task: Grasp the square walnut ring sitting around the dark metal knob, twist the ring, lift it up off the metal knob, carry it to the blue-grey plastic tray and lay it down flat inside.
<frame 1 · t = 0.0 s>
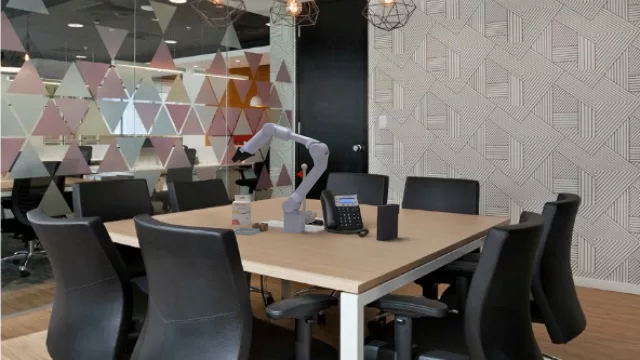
hand: (236, 160, 265), 32 cm above the table, tool tilted 50°, fingers open, 7 cm apart
ring: (260, 230, 260), point 1 cm above the table, touching metal knob
metal knob: (260, 231, 260), on the table
ink cartridge box: (241, 225, 278), on the table
tray: (245, 234, 252), on the table
upright black prism: (387, 239, 244), on the table
flag stand: (303, 222, 288), on the table
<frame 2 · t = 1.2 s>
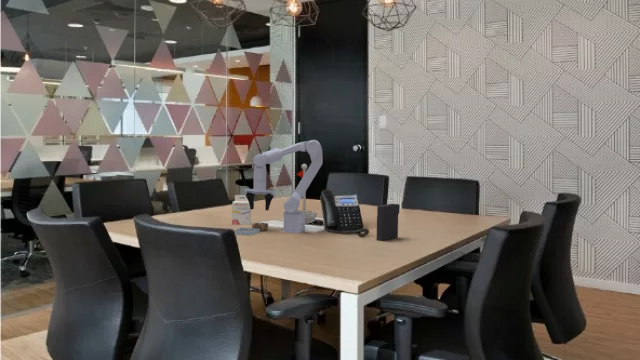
hand: (259, 209, 259), 10 cm above the table, tool pointing down, fingers open, 7 cm apart
nothing on the table moved.
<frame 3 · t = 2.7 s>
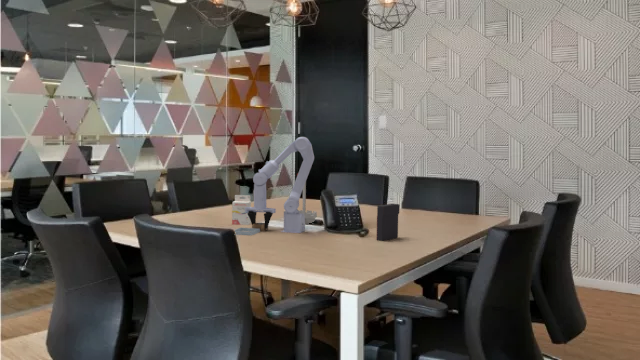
hand: (260, 227, 260), 2 cm above the table, tool pointing down, fingers closed on ring, 6 cm apart
ring: (260, 230, 260), point 1 cm above the table, touching gripper, metal knob
everything else where it was.
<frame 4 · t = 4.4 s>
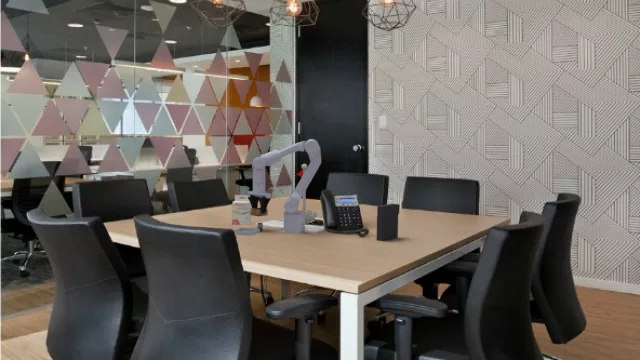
hand: (259, 212, 258), 9 cm above the table, tool pointing down, fingers closed on ring, 6 cm apart
ring: (259, 215, 259), point 8 cm above the table, touching gripper
everything else where it was.
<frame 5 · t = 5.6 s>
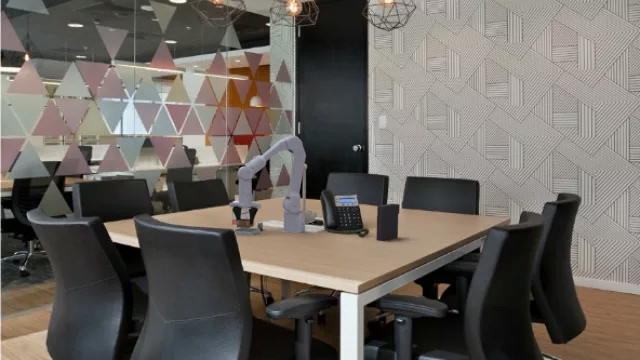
hand: (245, 223, 252), 5 cm above the table, tool pointing down, fingers closed on ring, 6 cm apart
ring: (245, 226, 252), point 3 cm above the table, touching gripper
everything else where it was.
when the fingers open (3 cm above the table, at t = 6.5 s): ring drops 1 cm, resting on tray.
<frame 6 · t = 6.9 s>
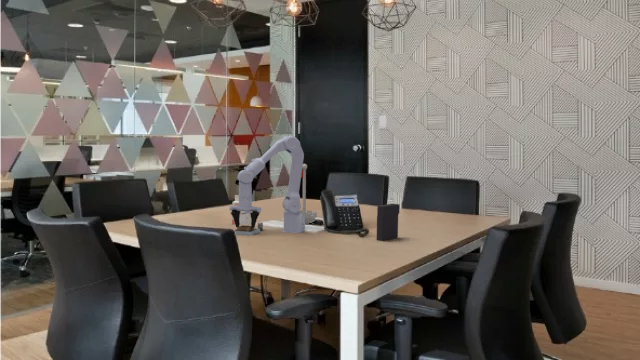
hand: (245, 227, 252), 3 cm above the table, tool pointing down, fingers open, 7 cm apart
ring: (245, 233, 252), resting on tray
everything else where it was.
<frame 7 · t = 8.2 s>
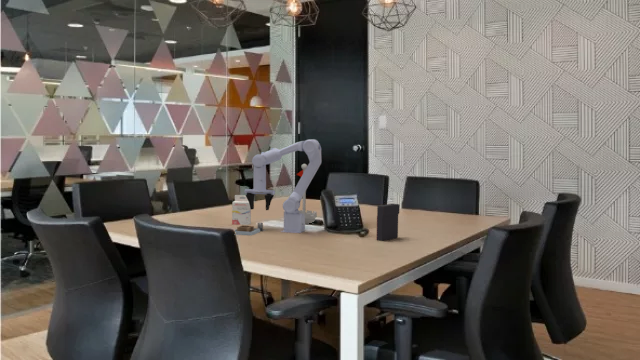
hand: (259, 209, 261), 10 cm above the table, tool pointing down, fingers open, 7 cm apart
nothing on the table moved.
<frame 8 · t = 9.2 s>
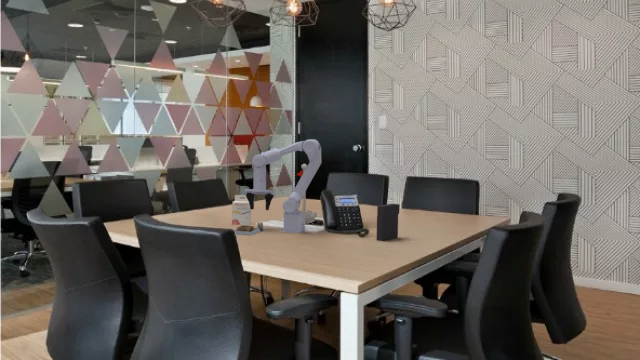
hand: (259, 209, 261), 10 cm above the table, tool pointing down, fingers open, 7 cm apart
nothing on the table moved.
at the end: ring 0.4 cm off-centre on the tray, point 0.5 cm above the tray's base; ring tilted 0°; the gripper is holding nothing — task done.
